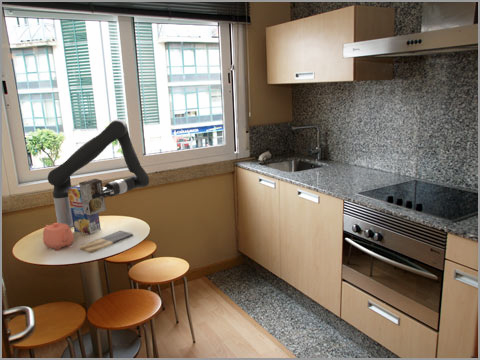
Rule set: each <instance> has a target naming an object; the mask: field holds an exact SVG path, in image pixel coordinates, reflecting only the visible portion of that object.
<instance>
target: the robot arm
mask: <svg viewBox="0 0 480 360" xmlns="http://www.w3.org/2000/svg"><path fill="white" fill-rule="evenodd" d="M115 141H118V143H119V145H120V148H121V153H122V155H123V159H124V162H125V164H126V167H127V169H128V171H129V172H130V173H132V174H134V175H132V176H129V177H126V178H122V179H117V180H112V181H109V182H107V183H105V184H104V186H102V187H103V191H102V192H99V193H96V194H92V198H93V199H95V198H99V197H104V199H105V198H109V197H110V198H111V197H114V196H118V195H122V194H124V193H126V192H130V191H132V190H134V189H136V188H142V187H143V188H144V187H147V186H148V185H149V184H150V177H149V175H148V173H147V172H146V171H145V169H144V167H143V166H142V165H141V162H140V160H139V158H138V155H137V153H136V151H135V148H134V146H133V143H132V139H131V138H130V133H129V128H128V125H127V122H126V121H124V120H123V119H119V118H118V119H117V118H116V119H114V120H111V121H110V122H109V124H108V125H107V126H106V127H105V128H104V129H103V130H102V131H101V132H100V133H99V134H98V135H95V136H94V137H92V138H90V140H88V141H87V142H85V143H84V144H83V145H81V146H80V147H79V148H78V149H76V151H74V152H73V153H72V154H71V155H70V156H69V158H67V159H66V160H65V161H64V162H63V163H62V164H60V165H58V166H57V167H55V168H53V169H51V170H50V172H48V175H47V181H48V183H49V184H50V185H51V186H53V192H52V196H53V198H52V199H53V203H54V208H55V215H56V223H63V224H67V225H68V226H69V227H70V228H71V227H74V226H73V220H72V214H71V208H70V202H69V196H68V190H67V188H71V187H72V182H71V176H73V174H74V173H76V172H77V171H79V170H80V169H82V168H84V167H85V166H87V165H88V164H90V163H91V162H92V161H94V160H95V159H96V158H97V157H98V156H100V154H101V153H103V152H104V150H105V149H106V148H107V147H108V146H110V145H111V144H112V143H114V142H115Z"/></svg>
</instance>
